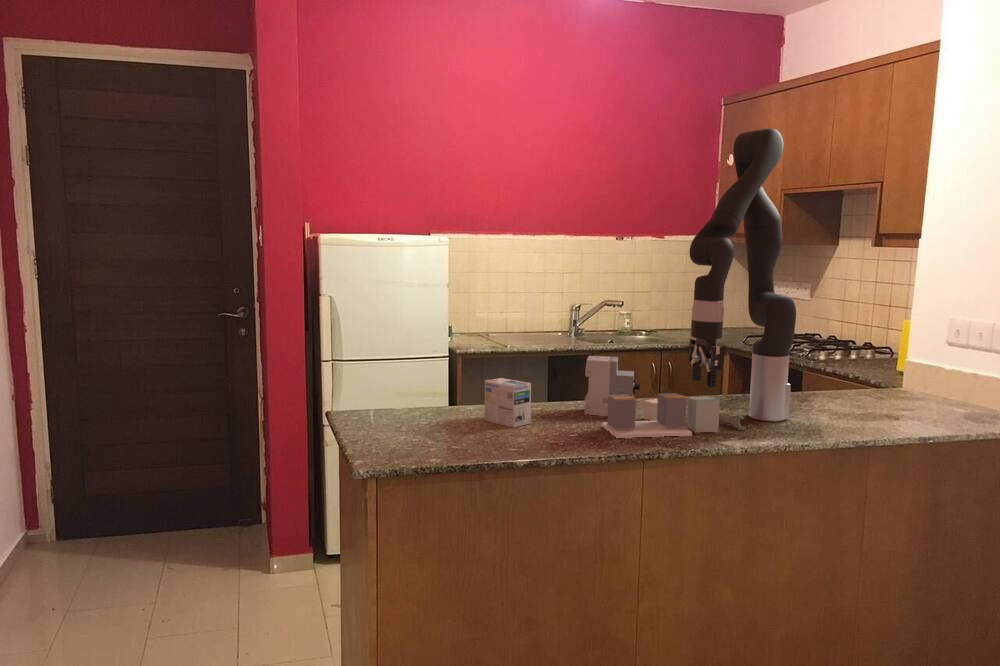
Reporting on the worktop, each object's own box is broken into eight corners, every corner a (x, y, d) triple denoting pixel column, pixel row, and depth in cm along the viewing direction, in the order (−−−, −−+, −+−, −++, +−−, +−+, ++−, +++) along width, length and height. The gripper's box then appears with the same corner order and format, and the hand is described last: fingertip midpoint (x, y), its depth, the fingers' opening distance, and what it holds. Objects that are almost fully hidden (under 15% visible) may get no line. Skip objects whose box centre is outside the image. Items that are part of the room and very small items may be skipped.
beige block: (655, 417, 204) (656, 399, 203) (665, 420, 200) (665, 402, 200) (643, 418, 202) (644, 400, 202) (652, 422, 199) (653, 403, 198)
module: (709, 427, 194) (710, 395, 193) (718, 432, 189) (719, 400, 188) (687, 428, 193) (688, 396, 192) (695, 433, 188) (696, 400, 187)
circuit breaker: (638, 418, 202) (640, 362, 200) (584, 415, 205) (585, 360, 203) (638, 411, 210) (640, 358, 208) (586, 408, 213) (588, 355, 211)
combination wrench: (694, 403, 208) (742, 417, 189) (698, 402, 208) (746, 417, 190) (693, 416, 208) (741, 432, 190) (697, 416, 209) (746, 432, 190)
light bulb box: (531, 423, 195) (532, 382, 194) (514, 428, 190) (514, 386, 189) (501, 416, 203) (501, 376, 201) (483, 421, 198) (483, 380, 196)
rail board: (672, 423, 197) (673, 389, 196) (691, 436, 185) (693, 400, 184) (601, 426, 194) (602, 391, 192) (616, 438, 182) (618, 402, 181)
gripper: (735, 322, 181) (730, 389, 183) (709, 315, 195) (705, 378, 197) (705, 321, 180) (701, 389, 182) (681, 315, 194) (677, 378, 196)
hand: (703, 383), depth 189 cm, fingers open, 8 cm apart
